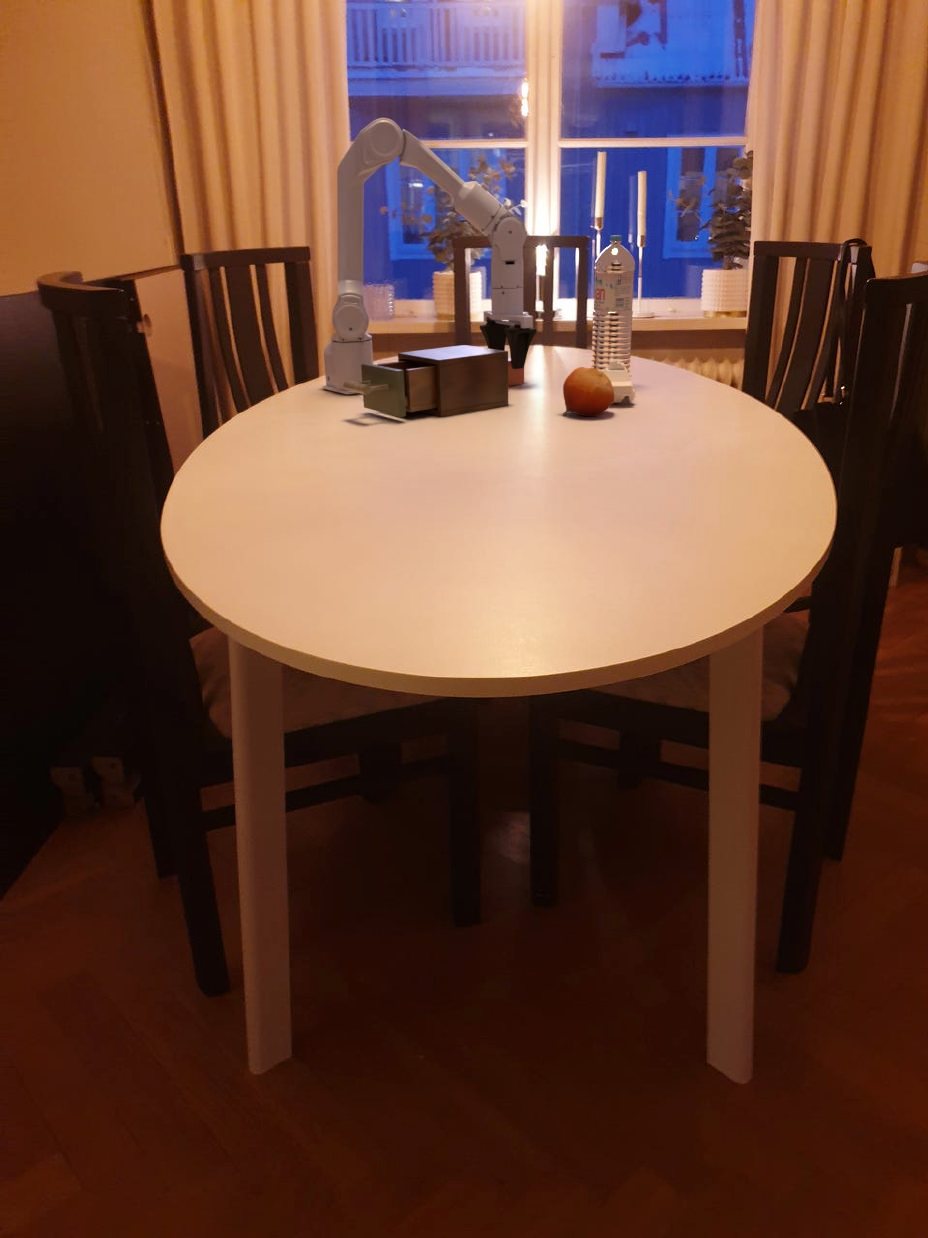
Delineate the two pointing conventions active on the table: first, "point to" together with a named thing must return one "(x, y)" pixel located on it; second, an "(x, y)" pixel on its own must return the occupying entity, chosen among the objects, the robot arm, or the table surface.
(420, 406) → the drawer
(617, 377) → the toy car
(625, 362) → the water bottle
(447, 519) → the table surface
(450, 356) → the cabinet
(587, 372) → the fruit
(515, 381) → the block
